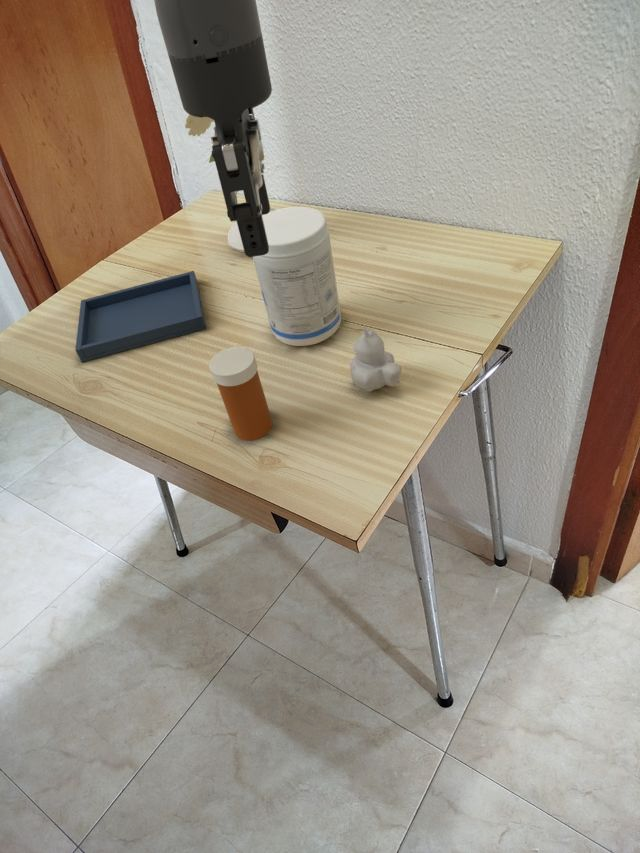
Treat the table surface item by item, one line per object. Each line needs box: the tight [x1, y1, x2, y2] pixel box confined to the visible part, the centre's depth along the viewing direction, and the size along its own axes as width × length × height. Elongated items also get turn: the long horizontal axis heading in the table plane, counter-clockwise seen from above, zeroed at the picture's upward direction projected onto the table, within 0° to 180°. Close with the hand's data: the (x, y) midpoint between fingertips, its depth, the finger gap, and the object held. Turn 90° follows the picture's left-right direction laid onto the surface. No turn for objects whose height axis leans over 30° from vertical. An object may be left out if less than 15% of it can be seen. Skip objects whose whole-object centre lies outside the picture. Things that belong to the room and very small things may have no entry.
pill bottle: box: [208, 345, 273, 441], centre depth 63 cm, size 5×5×10 cm
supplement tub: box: [252, 205, 342, 347], centre depth 73 cm, size 10×10×15 cm
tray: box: [75, 270, 207, 363], centre depth 86 cm, size 18×14×2 cm
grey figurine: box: [349, 326, 402, 392], centre depth 65 cm, size 5×7×8 cm
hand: (259, 232), depth 57 cm, fingers open, 8 cm apart
